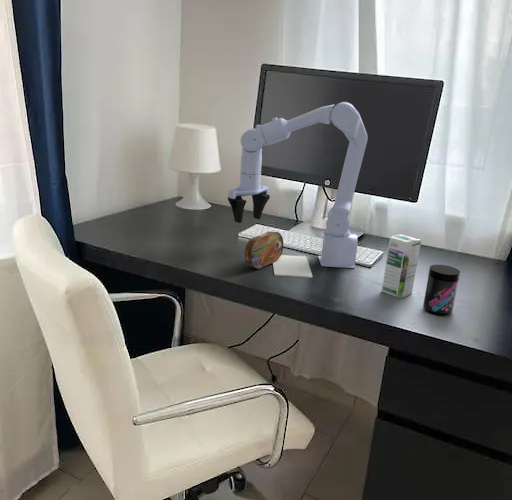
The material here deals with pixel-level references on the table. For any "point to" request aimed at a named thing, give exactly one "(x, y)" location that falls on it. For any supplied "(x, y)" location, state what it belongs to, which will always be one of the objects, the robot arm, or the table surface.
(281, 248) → the tin
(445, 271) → the supplement container
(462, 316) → the table surface
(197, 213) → the table surface
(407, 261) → the syrup box
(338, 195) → the robot arm
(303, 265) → the white flat panel
